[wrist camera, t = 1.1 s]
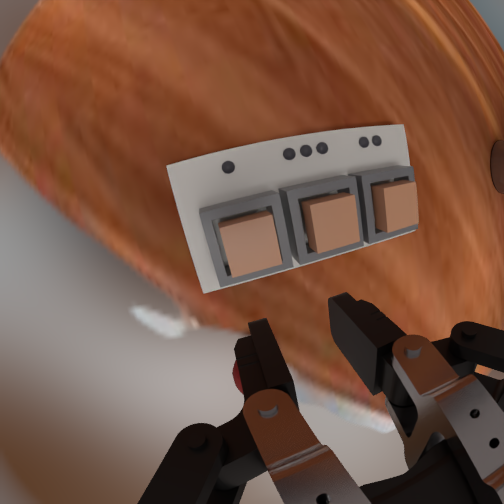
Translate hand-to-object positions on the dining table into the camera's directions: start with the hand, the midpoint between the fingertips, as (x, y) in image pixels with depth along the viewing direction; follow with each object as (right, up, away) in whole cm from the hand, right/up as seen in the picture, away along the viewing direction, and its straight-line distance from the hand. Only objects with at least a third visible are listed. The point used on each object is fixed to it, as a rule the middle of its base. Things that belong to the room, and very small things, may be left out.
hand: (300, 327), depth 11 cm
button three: (+4, +6, +13) cm, 15 cm away
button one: (-2, +4, +12) cm, 13 cm away
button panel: (+3, +8, +16) cm, 19 cm away
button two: (+11, +8, +14) cm, 19 cm away
